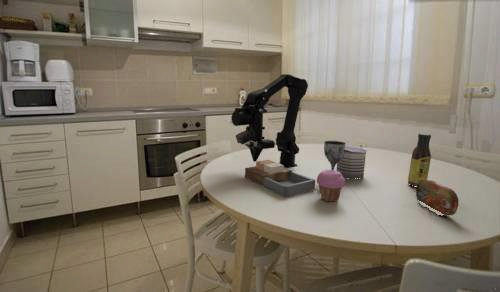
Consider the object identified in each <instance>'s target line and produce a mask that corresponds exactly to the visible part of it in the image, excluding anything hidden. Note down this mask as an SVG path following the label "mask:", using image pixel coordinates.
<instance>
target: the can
mask: <svg viewBox="0 0 500 292" xmlns="http://www.w3.org/2000/svg"><path fill="white" fill-rule="evenodd" d="M367 152H368V150H366V149H365V148H362V147H358V146H354V145H347V144H346V146H345V152H344V155H343V157H342V159H341V160H340V161H339V162H338V163H337V164H336V170H335V171H339V172H340V173H341V174H342V176H343V178H344V179H345V178H349V179H348V180H354V179H355V178H356V179H357V178H358V179H359V178H362V177H363V178H364V176H365V175H364V174H365V166H366V156H367V155H366V154H367ZM363 178H362V179H363ZM359 180H360V179H359Z"/></svg>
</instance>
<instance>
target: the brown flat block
mask: <svg viewBox="0 0 500 292" xmlns="http://www.w3.org/2000/svg"><path fill="white" fill-rule="evenodd" d="M290 172H293V169H290V168H288V167H283V172H278V173H273V174H270V173H268V172H265V171H264V170H260V169H258V168H256V165H255V166H250V167H245V168H244V179H246V180H249V181H251V182H253V183H255V184H257V185H259V186H261V187H263V184H264V177H267V178H269V179H272V180H274V181H276V182H281V181H285V180H289V179H290Z"/></svg>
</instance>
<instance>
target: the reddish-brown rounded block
mask: <svg viewBox="0 0 500 292" xmlns="http://www.w3.org/2000/svg"><path fill="white" fill-rule="evenodd" d="M415 188H416V189H415V194H416V195H415V196H416V199H417V201H418V200H419V201H421V202H423V203H425V204H426V205H428V206H430V207H431V208H433V209H435V210H437V211H439V212H441V213H442V214H444V215H451V216H453V215H455V214H456V213H457V210H458V207H459V197H458V194H457V193H456V191H454V190H453V189H452V188H450V187H448V186H445V185H443V184H441V183H439V182H436V181H435V180H434V181H433V180H430V179H429V180H428V179H427V180H422V181H420V182H419V184H418V185H417V187H415Z"/></svg>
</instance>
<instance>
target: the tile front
mask: <svg viewBox="0 0 500 292" xmlns="http://www.w3.org/2000/svg"><path fill="white" fill-rule="evenodd" d="M279 163H280V162H279ZM279 163H278V162H275V163H270V164H264V171H265V172H268V173H270V174H273V173H278V172H283V167H284V165H282V164H279Z"/></svg>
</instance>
